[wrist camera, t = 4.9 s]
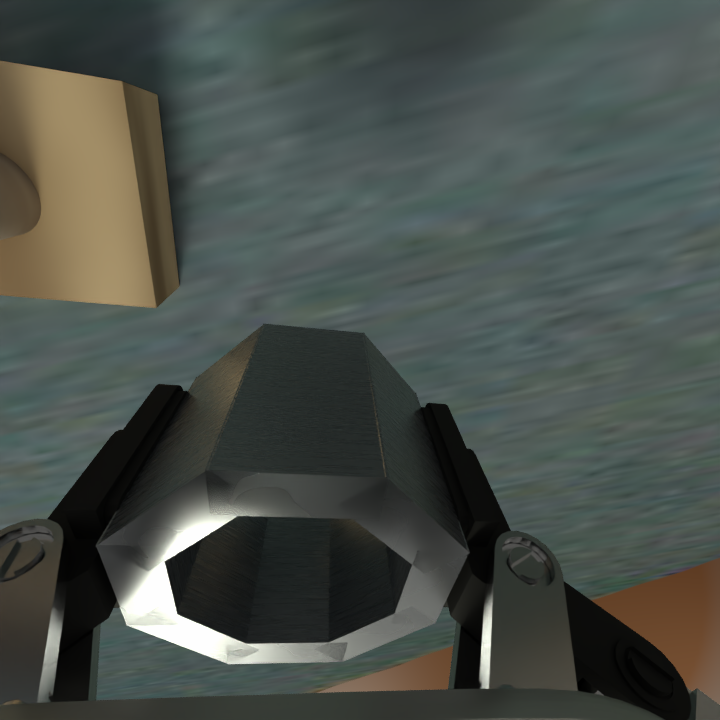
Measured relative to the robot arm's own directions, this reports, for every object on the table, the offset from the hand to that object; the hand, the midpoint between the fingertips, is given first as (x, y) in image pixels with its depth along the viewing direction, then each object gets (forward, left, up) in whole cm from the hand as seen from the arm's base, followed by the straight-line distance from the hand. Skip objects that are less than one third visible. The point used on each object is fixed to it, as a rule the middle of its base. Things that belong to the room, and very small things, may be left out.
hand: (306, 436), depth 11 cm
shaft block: (+12, -5, -10) cm, 16 cm away
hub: (0, 0, -1) cm, 1 cm away
